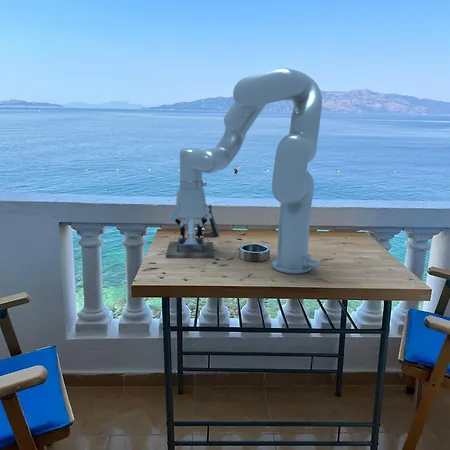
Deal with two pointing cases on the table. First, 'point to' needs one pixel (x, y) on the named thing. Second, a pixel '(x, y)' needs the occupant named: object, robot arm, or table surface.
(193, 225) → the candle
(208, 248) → the keeper board
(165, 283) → the table surface
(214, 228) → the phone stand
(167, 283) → the table surface
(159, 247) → the table surface
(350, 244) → the table surface
